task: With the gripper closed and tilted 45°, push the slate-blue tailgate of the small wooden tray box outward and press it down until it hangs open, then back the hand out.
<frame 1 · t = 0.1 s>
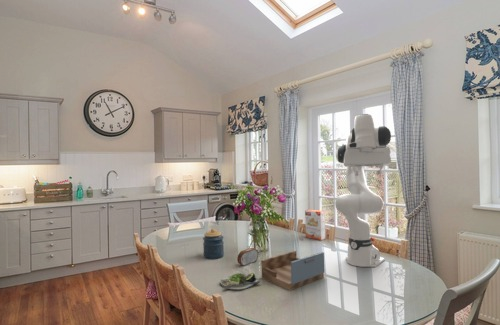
hand: (367, 175, 140), 52 cm above the table, tool tilted 20°, fingers open, 8 cm apart
wooden tray box: (292, 277, 159), on the table
salad plate: (240, 284, 154), on the table
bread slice: (248, 264, 182), on the table
cracker box: (315, 238, 233), on the table
tailgate: (308, 267, 149), point 8 cm above the table, hinge at 0.0°
canister: (213, 256, 198), on the table
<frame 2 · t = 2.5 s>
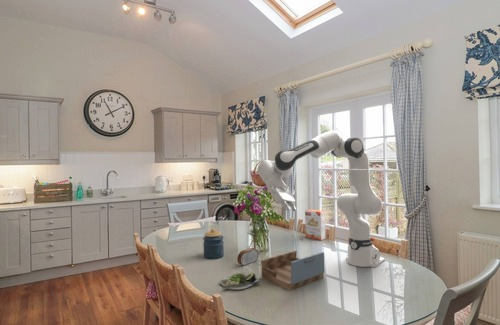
hand: (291, 210, 155), 35 cm above the table, tool tilted 40°, fingers open, 8 cm apart
nothing on the table moved.
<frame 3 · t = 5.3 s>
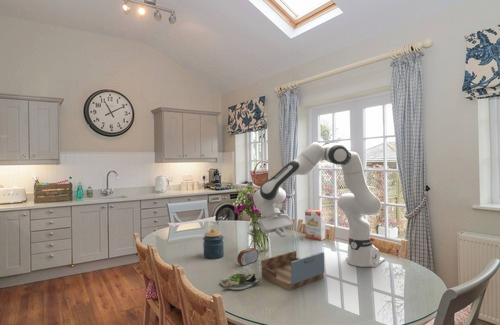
hand: (283, 236, 163), 20 cm above the table, tool tilted 45°, fingers closed
nothing on the table moved.
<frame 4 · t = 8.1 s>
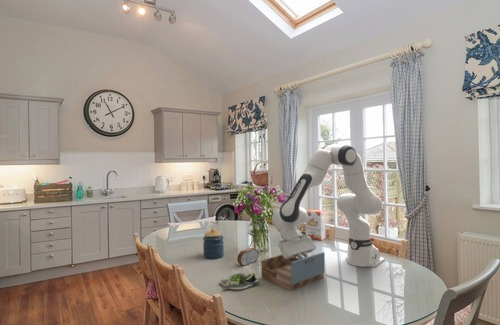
hand: (306, 262, 151), 10 cm above the table, tool tilted 45°, fingers closed, pressing on tailgate
tailgate: (309, 267, 149), point 8 cm above the table, hinge at 1.7°, touching gripper
everything else where it was.
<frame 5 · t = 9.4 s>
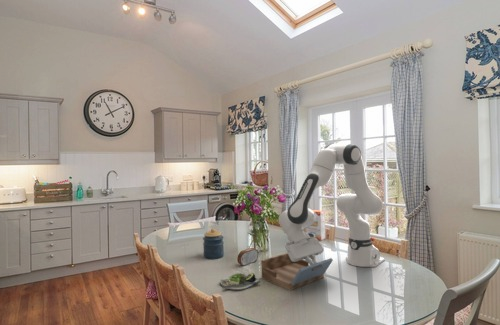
hand: (314, 265, 146), 10 cm above the table, tool tilted 45°, fingers closed, pressing on tailgate
tailgate: (313, 272, 147), point 7 cm above the table, hinge at 34.2°, touching gripper
everything else where it was.
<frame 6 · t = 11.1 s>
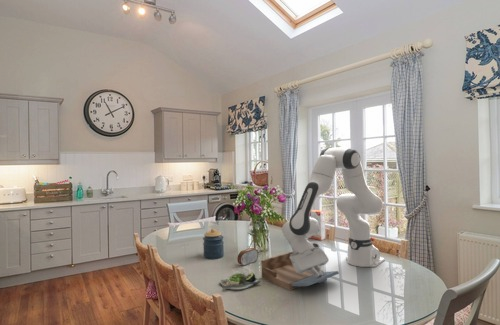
hand: (319, 276, 144), 6 cm above the table, tool tilted 45°, fingers closed, pressing on tailgate
tailgate: (315, 279, 146), point 4 cm above the table, hinge at 72.7°, touching gripper
everything else where it was.
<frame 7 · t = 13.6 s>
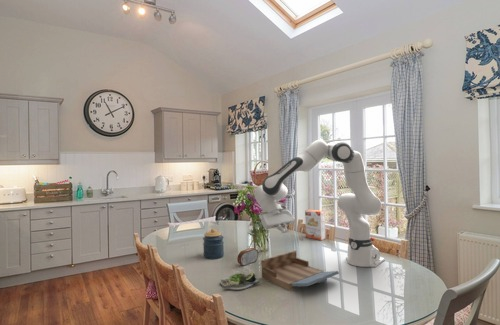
hand: (285, 232, 161), 22 cm above the table, tool tilted 45°, fingers closed
tailgate: (315, 279, 146), point 4 cm above the table, hinge at 72.7°
everything else where it was.
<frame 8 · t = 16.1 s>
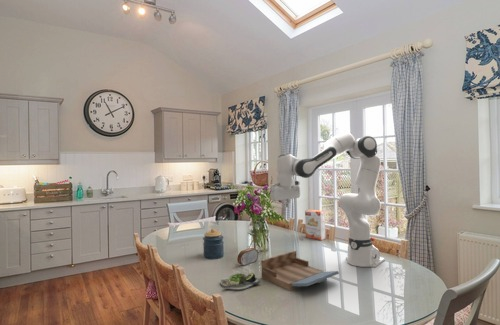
hand: (285, 207, 175), 33 cm above the table, tool pointing down, fingers closed
nothing on the table moved.
at the end: tailgate at +73° (first picture: +0°) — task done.
